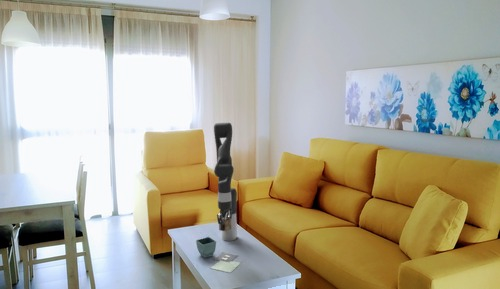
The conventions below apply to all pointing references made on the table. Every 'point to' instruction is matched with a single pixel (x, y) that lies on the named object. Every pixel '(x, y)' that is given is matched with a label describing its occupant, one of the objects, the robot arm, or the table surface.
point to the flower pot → (206, 246)
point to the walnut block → (226, 224)
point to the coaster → (225, 266)
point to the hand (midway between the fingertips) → (225, 228)
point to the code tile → (225, 257)
